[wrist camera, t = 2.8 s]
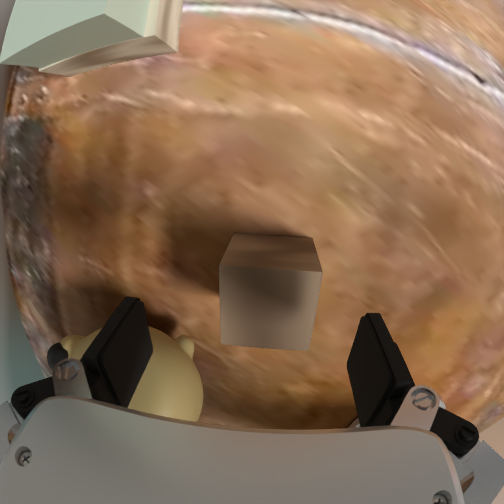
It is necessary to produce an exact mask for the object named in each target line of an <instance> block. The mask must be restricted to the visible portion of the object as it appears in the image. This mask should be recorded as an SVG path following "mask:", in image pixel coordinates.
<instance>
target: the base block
mask: <svg viewBox="0 0 504 504" xmlns="http://www.w3.org/2000/svg"><path fill="white" fill-rule="evenodd" d="M183 1H184V0H150V3H149V8H148V13H147V19H146V25H145V31H144V37H142V38H137V39H132V40H128V41H123V42H119V43H115V44H111V45H107V46H104V47H100V48H97V49H94V50H90V51H87V52H84V53H81V54H78V55H75V56H72V57H69V58H67V59H64V60H61V61H59V62H56V63H53V64H51V65H49V66H46V67H44V68H39V72H45V73H52V74H58V75H64V76H70V77H71V76H74V75H77V74H80V73H83V72H87V71H90V70H93V69H97V68H101V67H104V66H108V65H112V64H116V63H121V62H125V61H130V60H134V59H139V58H145V57H150V56H156V55H163V54H170V53H177V52H178V45H179V34H180V25H181V16H182V8H183Z"/></svg>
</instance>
